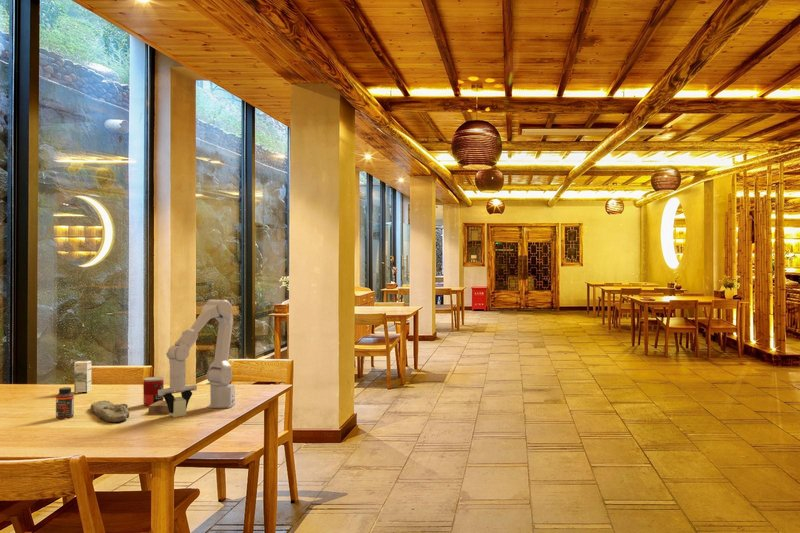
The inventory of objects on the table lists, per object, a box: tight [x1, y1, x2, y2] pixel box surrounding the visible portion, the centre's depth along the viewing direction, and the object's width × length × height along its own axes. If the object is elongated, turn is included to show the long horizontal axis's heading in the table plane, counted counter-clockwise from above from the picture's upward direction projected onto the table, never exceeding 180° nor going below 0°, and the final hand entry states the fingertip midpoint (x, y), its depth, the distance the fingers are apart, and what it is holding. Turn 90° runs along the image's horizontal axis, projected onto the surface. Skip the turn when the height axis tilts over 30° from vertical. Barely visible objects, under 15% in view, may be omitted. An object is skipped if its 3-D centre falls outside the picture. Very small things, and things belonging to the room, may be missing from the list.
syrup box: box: [73, 360, 92, 393], centre depth 275 cm, size 6×6×14 cm
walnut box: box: [148, 400, 169, 415], centre depth 236 cm, size 9×9×4 cm
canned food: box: [142, 376, 165, 407], centre depth 248 cm, size 8×8×11 cm
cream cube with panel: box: [168, 396, 187, 418], centre depth 228 cm, size 5×5×7 cm
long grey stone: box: [89, 400, 131, 423], centre depth 230 cm, size 35×5×10 cm
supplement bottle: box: [55, 386, 75, 420], centre depth 225 cm, size 6×6×11 cm
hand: (177, 411), depth 228 cm, fingers closed on cream cube with panel, 5 cm apart
